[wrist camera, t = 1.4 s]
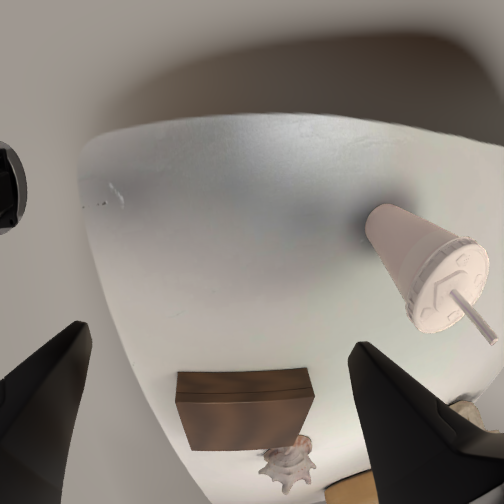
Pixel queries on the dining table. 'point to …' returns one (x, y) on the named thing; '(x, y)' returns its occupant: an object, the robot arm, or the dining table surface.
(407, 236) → the smoothie
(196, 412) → the wooden jewelry box
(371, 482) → the planter
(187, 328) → the dining table surface
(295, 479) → the seashell
